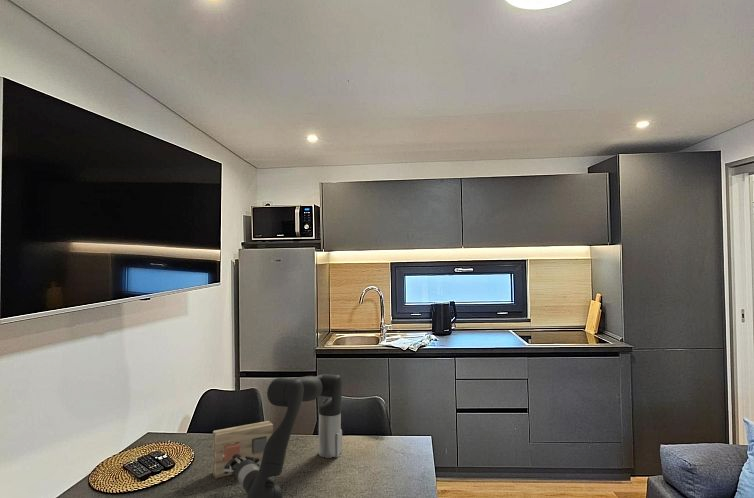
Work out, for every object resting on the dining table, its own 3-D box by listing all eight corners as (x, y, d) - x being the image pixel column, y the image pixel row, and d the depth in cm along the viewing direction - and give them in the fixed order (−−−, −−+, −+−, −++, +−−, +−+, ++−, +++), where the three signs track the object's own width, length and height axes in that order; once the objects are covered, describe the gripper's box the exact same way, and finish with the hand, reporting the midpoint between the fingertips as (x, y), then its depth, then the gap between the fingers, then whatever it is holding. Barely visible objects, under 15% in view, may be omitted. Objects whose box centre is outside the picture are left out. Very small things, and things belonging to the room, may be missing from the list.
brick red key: (224, 458, 174) (224, 445, 174) (237, 456, 177) (237, 442, 177) (226, 461, 172) (226, 448, 172) (239, 458, 174) (239, 445, 175)
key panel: (212, 473, 177) (213, 430, 177) (268, 460, 188) (268, 420, 189) (215, 478, 173) (216, 435, 173) (272, 464, 184) (273, 424, 185)
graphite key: (251, 451, 182) (251, 438, 182) (264, 448, 184) (264, 435, 184) (253, 453, 179) (254, 440, 179) (266, 451, 182) (266, 438, 182)
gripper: (268, 459, 160) (253, 442, 174) (229, 468, 153) (217, 450, 167) (268, 481, 159) (252, 462, 174) (229, 491, 152) (216, 471, 167)
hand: (235, 456), depth 171 cm, fingers closed
